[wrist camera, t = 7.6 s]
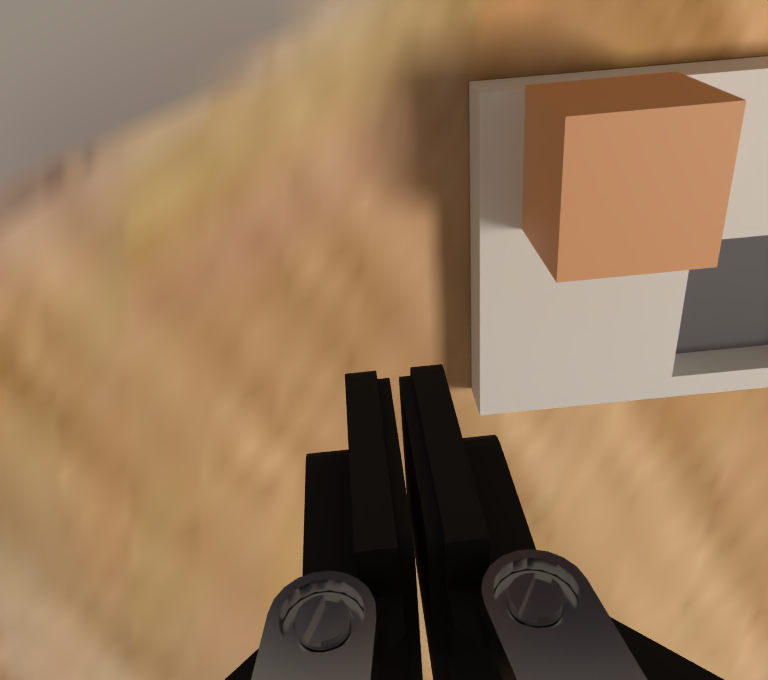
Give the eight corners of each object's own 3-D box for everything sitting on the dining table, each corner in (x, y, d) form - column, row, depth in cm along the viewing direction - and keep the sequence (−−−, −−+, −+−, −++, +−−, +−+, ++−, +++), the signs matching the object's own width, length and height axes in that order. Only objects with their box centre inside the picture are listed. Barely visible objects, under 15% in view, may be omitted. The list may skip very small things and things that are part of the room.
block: (658, 216, 26) (717, 267, 22) (521, 229, 26) (556, 282, 22) (676, 71, 23) (746, 100, 20) (525, 85, 23) (565, 116, 19)
